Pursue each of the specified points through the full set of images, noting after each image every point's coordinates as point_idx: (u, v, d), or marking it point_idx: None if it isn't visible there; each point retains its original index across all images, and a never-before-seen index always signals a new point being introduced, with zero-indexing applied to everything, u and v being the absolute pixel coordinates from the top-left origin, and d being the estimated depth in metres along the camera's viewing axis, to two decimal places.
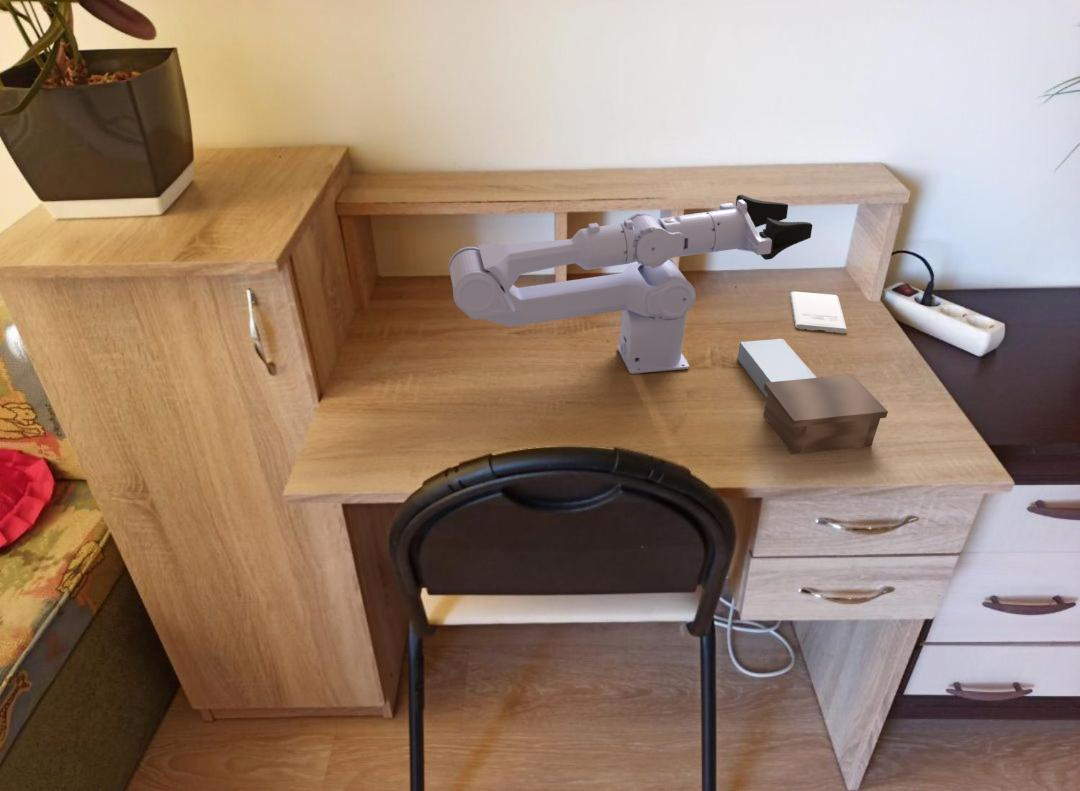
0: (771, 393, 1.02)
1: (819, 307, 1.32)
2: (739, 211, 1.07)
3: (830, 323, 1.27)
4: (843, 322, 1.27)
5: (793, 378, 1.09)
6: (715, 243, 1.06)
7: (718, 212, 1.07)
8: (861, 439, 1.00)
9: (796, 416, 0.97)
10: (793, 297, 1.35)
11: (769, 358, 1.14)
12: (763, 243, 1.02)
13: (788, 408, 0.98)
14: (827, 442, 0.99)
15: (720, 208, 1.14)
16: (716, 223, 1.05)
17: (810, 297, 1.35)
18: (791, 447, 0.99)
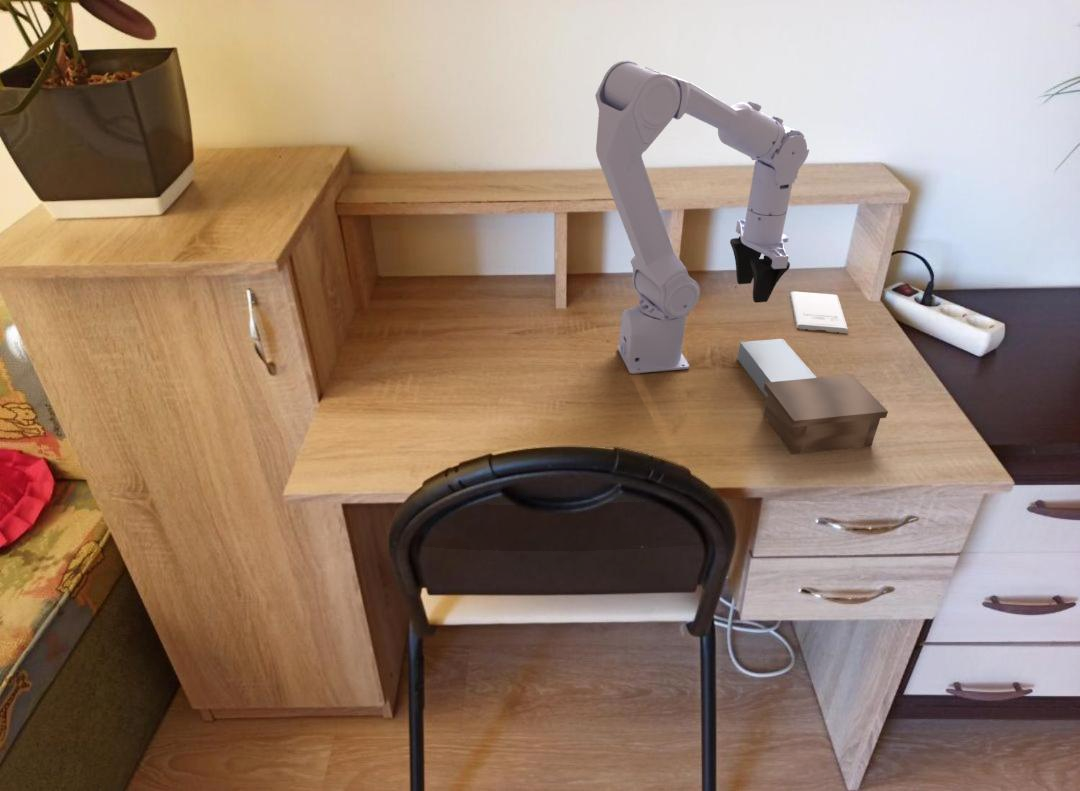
0: (771, 393, 1.02)
1: (820, 307, 1.32)
2: None
3: (831, 322, 1.27)
4: (844, 322, 1.27)
5: (793, 378, 1.09)
6: (771, 216, 1.10)
7: None
8: (861, 439, 1.00)
9: (796, 416, 0.97)
10: (793, 297, 1.35)
11: (769, 358, 1.14)
12: (786, 260, 1.09)
13: (788, 408, 0.98)
14: (827, 442, 0.99)
15: None
16: (785, 215, 1.11)
17: (810, 297, 1.35)
18: (791, 447, 0.99)
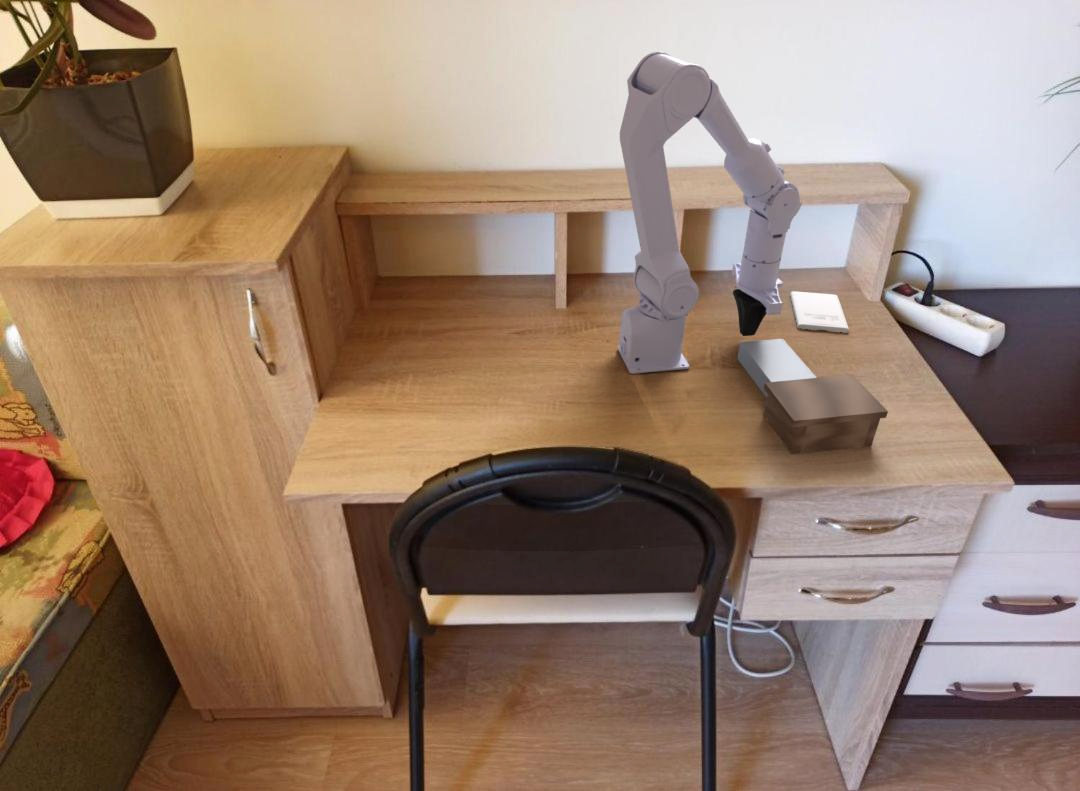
0: (771, 393, 1.02)
1: (820, 307, 1.32)
2: None
3: (832, 322, 1.27)
4: (845, 322, 1.28)
5: (793, 378, 1.09)
6: (765, 264, 1.13)
7: None
8: (861, 439, 1.00)
9: (796, 416, 0.97)
10: (793, 297, 1.35)
11: (769, 358, 1.14)
12: (780, 307, 1.12)
13: (788, 408, 0.98)
14: (827, 442, 0.99)
15: (741, 263, 1.24)
16: (779, 262, 1.14)
17: (810, 297, 1.35)
18: (791, 447, 0.99)
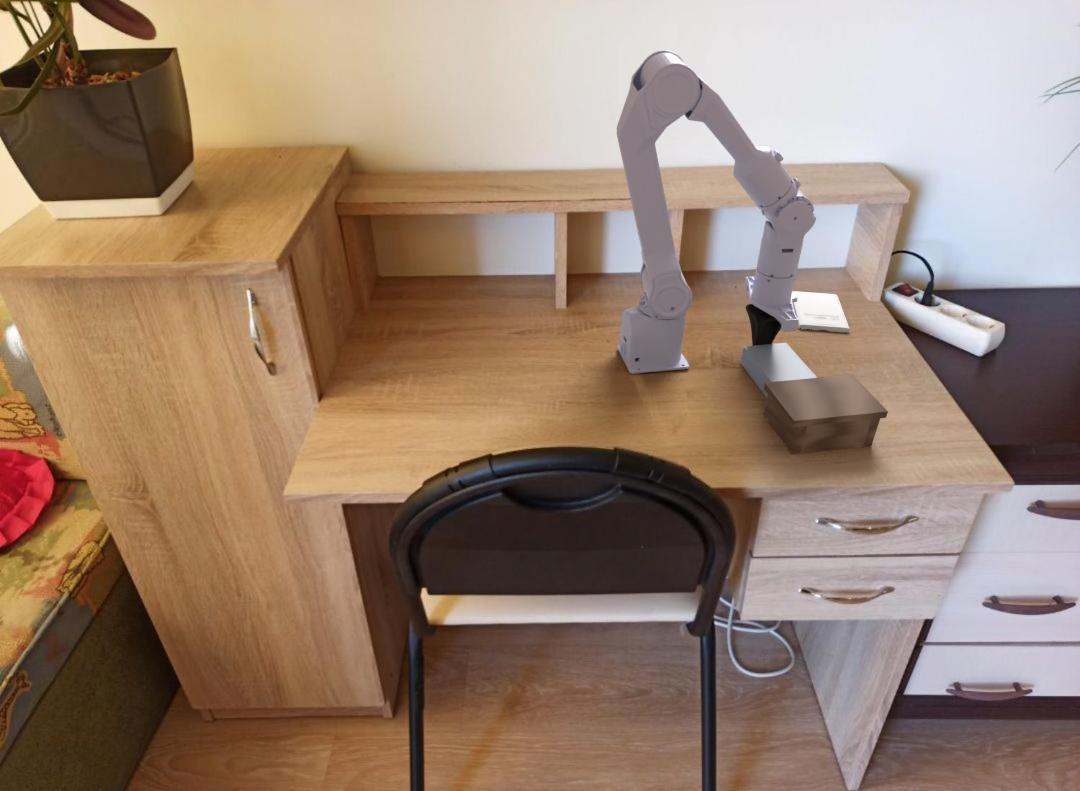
0: (771, 393, 1.02)
1: (820, 307, 1.32)
2: None
3: (832, 322, 1.27)
4: (845, 321, 1.28)
5: None
6: (781, 278, 1.09)
7: None
8: (861, 439, 1.00)
9: (796, 416, 0.97)
10: None
11: (773, 362, 1.12)
12: (795, 323, 1.08)
13: (788, 408, 0.98)
14: (827, 442, 0.99)
15: (754, 277, 1.19)
16: (794, 276, 1.10)
17: (810, 297, 1.35)
18: (791, 447, 0.99)
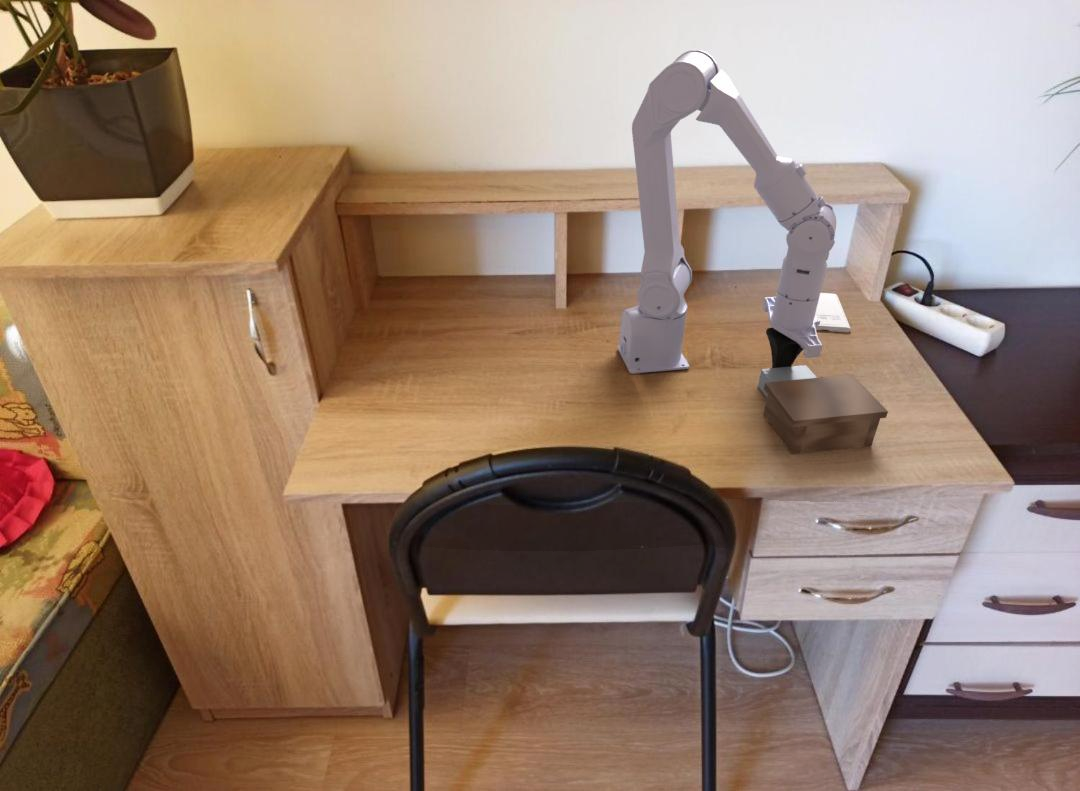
0: (771, 393, 1.02)
1: (821, 307, 1.32)
2: None
3: (833, 322, 1.27)
4: (846, 321, 1.28)
5: None
6: (803, 301, 1.03)
7: None
8: (861, 439, 1.00)
9: (796, 416, 0.97)
10: None
11: None
12: (819, 349, 1.02)
13: (788, 408, 0.98)
14: (827, 442, 0.99)
15: (773, 298, 1.13)
16: (818, 299, 1.04)
17: None
18: (791, 447, 0.99)
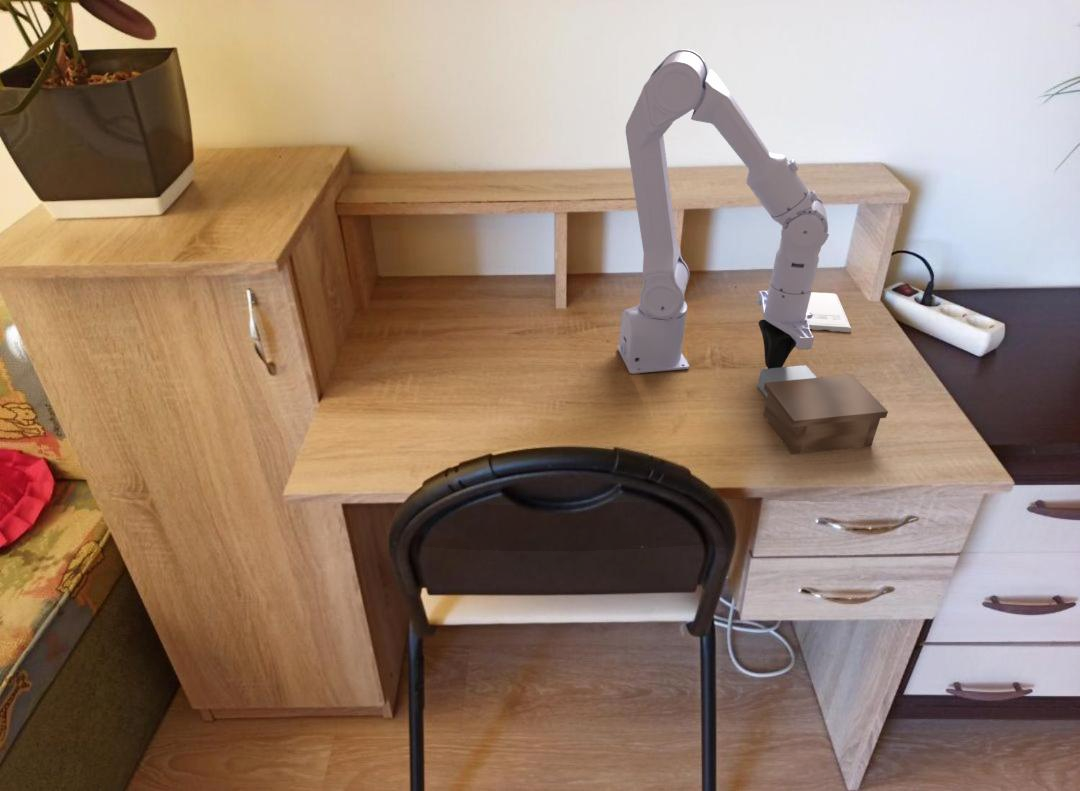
0: (771, 393, 1.02)
1: (821, 307, 1.32)
2: None
3: (834, 322, 1.27)
4: (846, 321, 1.28)
5: None
6: (796, 294, 1.05)
7: None
8: (861, 439, 1.00)
9: (796, 416, 0.97)
10: None
11: None
12: (811, 341, 1.04)
13: (788, 408, 0.98)
14: (827, 442, 0.99)
15: (767, 291, 1.15)
16: (810, 292, 1.06)
17: (810, 296, 1.35)
18: (791, 447, 0.99)
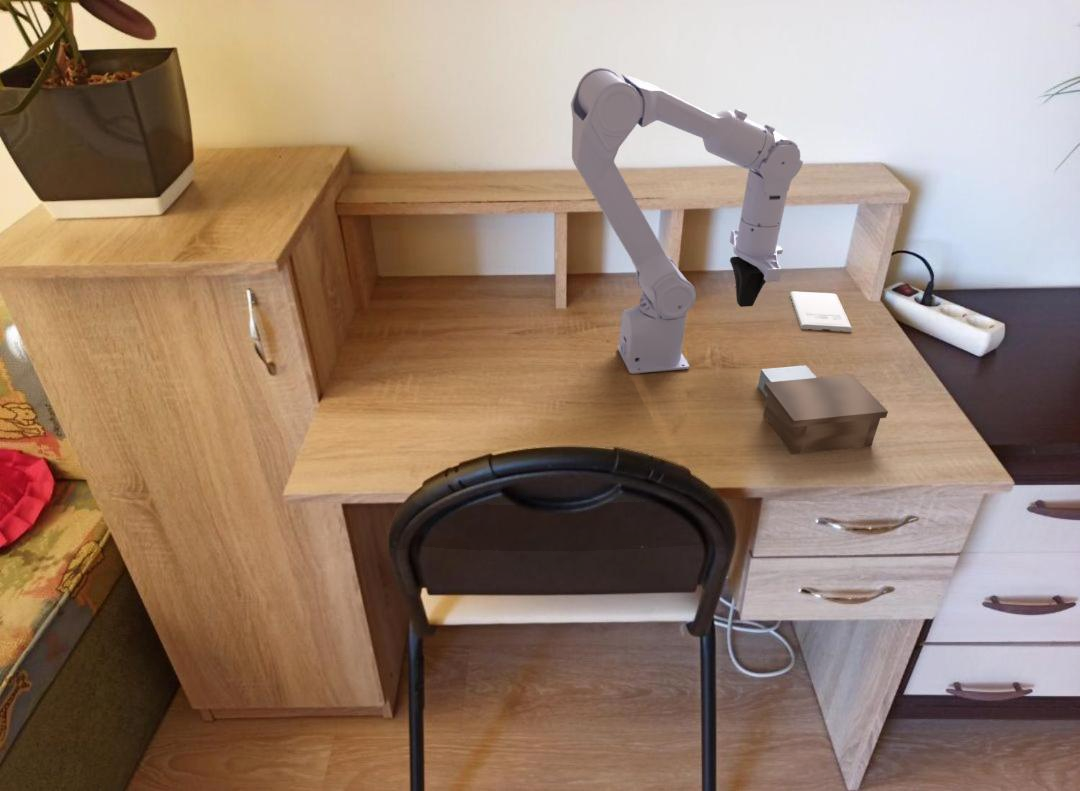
0: (771, 393, 1.02)
1: (821, 307, 1.32)
2: None
3: (834, 322, 1.27)
4: (847, 320, 1.28)
5: None
6: (764, 227, 1.06)
7: None
8: (861, 439, 1.00)
9: (796, 416, 0.97)
10: (794, 297, 1.35)
11: None
12: (778, 273, 1.06)
13: (788, 408, 0.98)
14: (827, 442, 0.99)
15: None
16: (779, 226, 1.08)
17: (810, 296, 1.35)
18: (791, 447, 0.99)
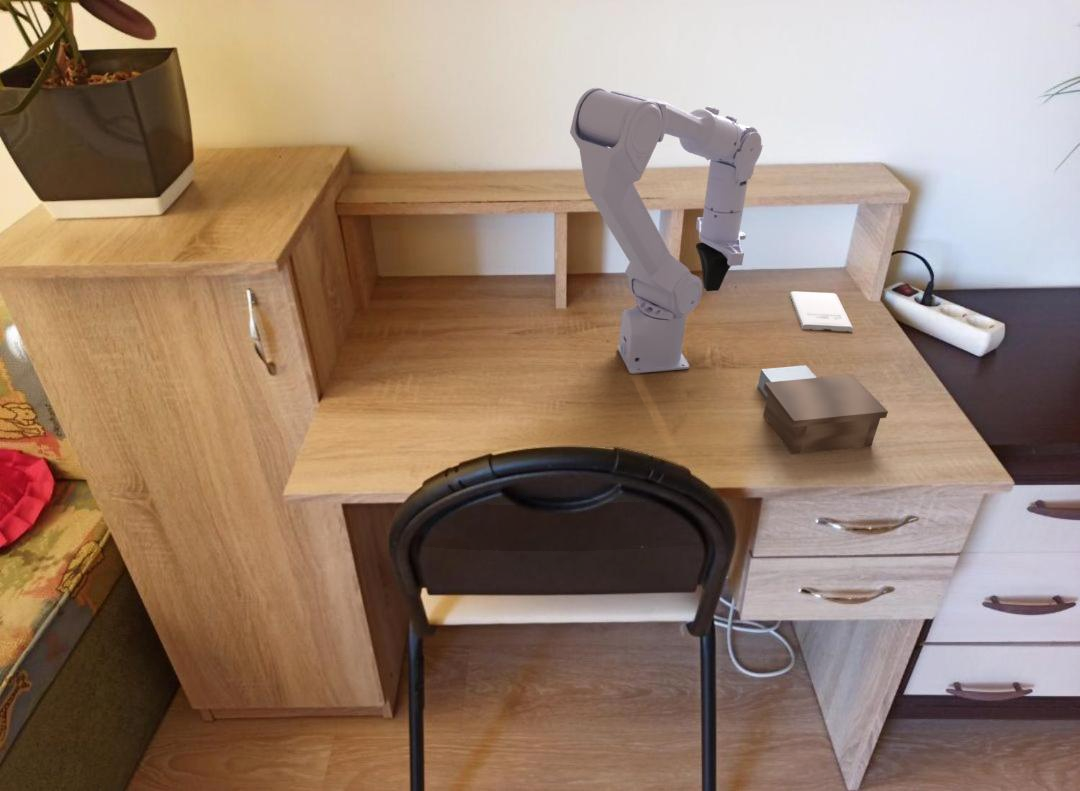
0: (771, 393, 1.02)
1: (822, 306, 1.32)
2: None
3: (835, 321, 1.27)
4: (848, 320, 1.28)
5: None
6: (727, 213, 1.11)
7: None
8: (861, 439, 1.00)
9: (796, 416, 0.97)
10: (794, 297, 1.35)
11: None
12: (741, 257, 1.10)
13: (788, 408, 0.98)
14: (827, 442, 0.99)
15: None
16: (741, 212, 1.12)
17: (810, 296, 1.35)
18: (791, 447, 0.99)
